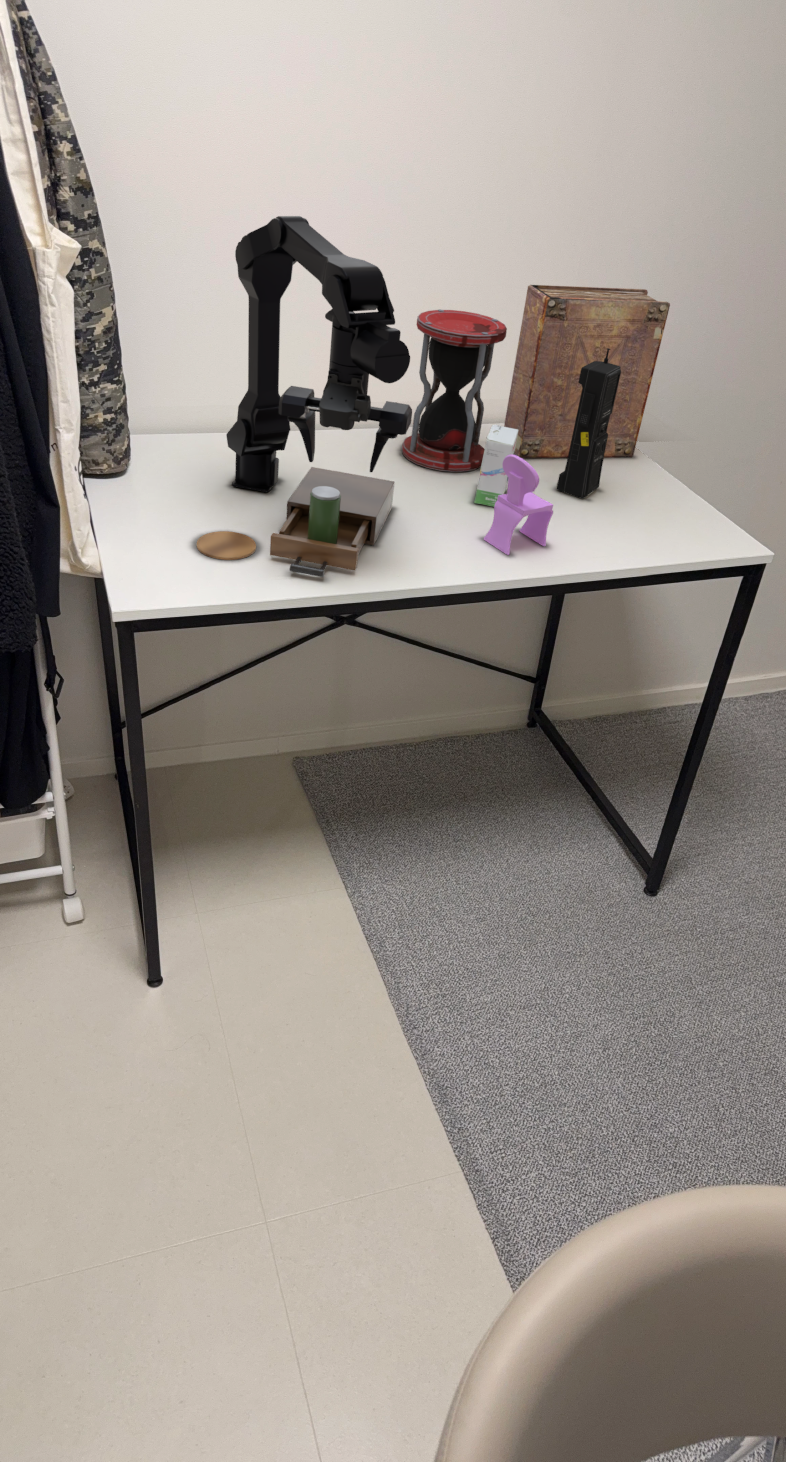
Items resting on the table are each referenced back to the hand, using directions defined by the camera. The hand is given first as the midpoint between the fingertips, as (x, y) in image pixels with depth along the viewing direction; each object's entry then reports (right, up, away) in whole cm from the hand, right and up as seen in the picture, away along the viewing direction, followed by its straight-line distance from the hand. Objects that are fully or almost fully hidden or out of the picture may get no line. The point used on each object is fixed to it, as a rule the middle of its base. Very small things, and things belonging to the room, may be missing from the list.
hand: (341, 466), depth 156 cm
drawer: (-3, -12, +5) cm, 13 cm away
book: (+43, +17, +55) cm, 72 cm away
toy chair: (+28, -9, +16) cm, 33 cm away
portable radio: (+42, +5, +37) cm, 56 cm away
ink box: (+25, +2, +30) cm, 39 cm away
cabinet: (-1, -5, +16) cm, 17 cm away
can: (-3, -10, +4) cm, 12 cm away
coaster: (-18, -11, +4) cm, 21 cm away
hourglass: (+17, +13, +44) cm, 49 cm away
